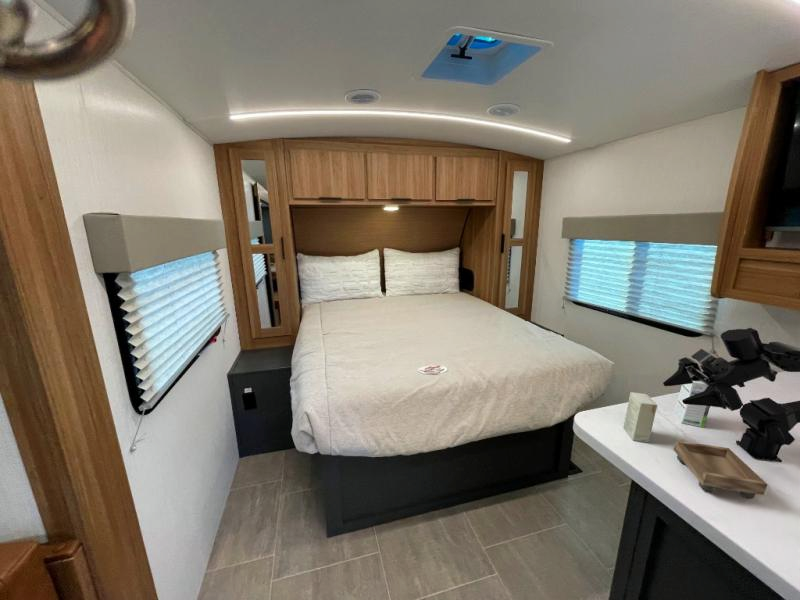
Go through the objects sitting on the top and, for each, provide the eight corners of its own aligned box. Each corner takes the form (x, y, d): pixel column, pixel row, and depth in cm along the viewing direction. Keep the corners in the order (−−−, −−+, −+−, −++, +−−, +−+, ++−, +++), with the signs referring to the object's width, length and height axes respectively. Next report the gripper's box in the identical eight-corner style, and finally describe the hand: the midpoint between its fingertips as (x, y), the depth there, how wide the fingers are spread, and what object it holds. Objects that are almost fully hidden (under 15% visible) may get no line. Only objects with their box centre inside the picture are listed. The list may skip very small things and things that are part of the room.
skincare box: (649, 443, 91) (659, 405, 87) (632, 440, 92) (641, 403, 88) (637, 428, 97) (646, 393, 94) (621, 426, 98) (630, 391, 94)
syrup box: (680, 423, 100) (693, 382, 96) (673, 412, 105) (684, 373, 101) (704, 428, 98) (717, 386, 94) (695, 417, 103) (707, 376, 99)
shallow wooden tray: (722, 465, 83) (728, 448, 81) (759, 503, 72) (767, 484, 71) (671, 457, 85) (676, 440, 84) (699, 493, 74) (706, 474, 73)
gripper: (701, 333, 92) (643, 355, 97) (755, 361, 74) (680, 386, 79) (717, 365, 93) (659, 385, 98) (773, 400, 75) (699, 422, 80)
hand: (672, 393), depth 89 cm, fingers open, 9 cm apart
